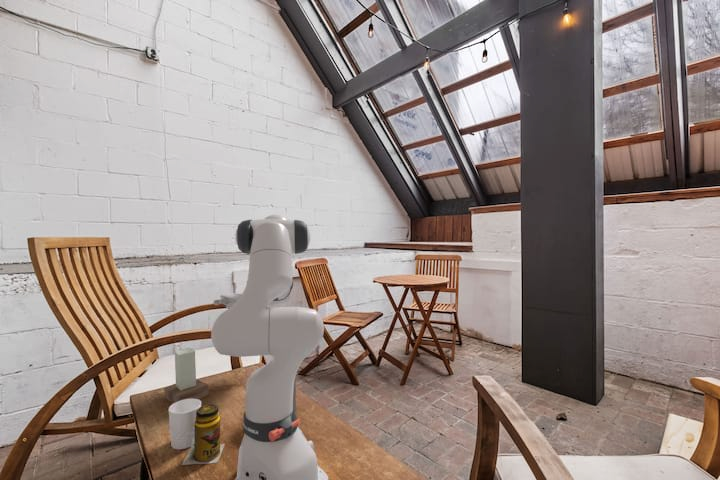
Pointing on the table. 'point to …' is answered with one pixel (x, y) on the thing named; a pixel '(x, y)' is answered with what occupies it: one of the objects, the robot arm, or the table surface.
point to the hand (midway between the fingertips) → (220, 304)
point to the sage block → (185, 368)
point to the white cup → (183, 423)
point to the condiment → (206, 437)
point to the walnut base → (186, 392)
